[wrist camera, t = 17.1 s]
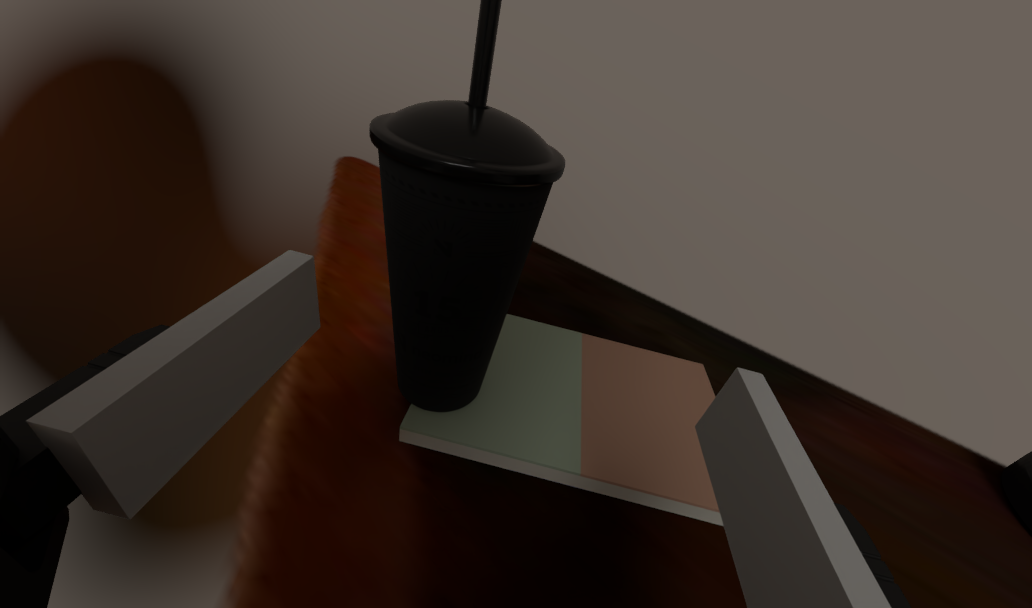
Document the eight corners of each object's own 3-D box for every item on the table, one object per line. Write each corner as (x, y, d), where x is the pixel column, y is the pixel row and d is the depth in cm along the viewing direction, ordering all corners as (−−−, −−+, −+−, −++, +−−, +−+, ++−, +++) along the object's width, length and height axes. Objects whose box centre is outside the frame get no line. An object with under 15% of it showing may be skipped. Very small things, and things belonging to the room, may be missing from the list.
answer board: (695, 375, 30) (702, 364, 30) (750, 533, 20) (763, 521, 20) (459, 314, 31) (461, 302, 30) (399, 440, 21) (400, 426, 20)
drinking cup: (381, 333, 25) (388, -89, 14) (497, 341, 27) (584, -30, 16) (357, 433, 19) (338, -175, 8) (510, 436, 21) (667, -63, 10)
